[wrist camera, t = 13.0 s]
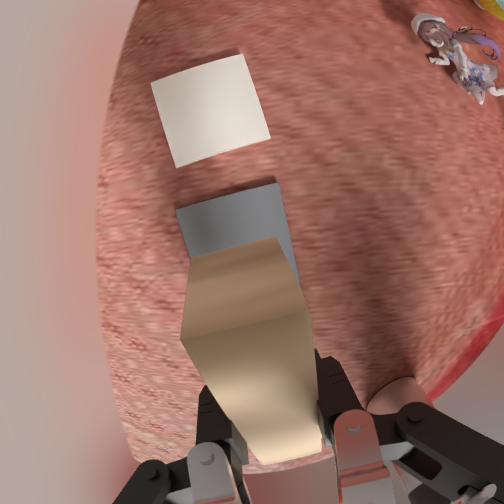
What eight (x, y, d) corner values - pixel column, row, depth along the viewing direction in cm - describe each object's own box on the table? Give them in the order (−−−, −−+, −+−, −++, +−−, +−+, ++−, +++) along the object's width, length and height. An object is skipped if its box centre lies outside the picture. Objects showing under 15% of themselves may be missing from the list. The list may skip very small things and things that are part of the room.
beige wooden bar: (322, 430, 17) (336, 473, 14) (259, 446, 17) (266, 489, 14) (303, 229, 9) (350, 296, 6) (165, 264, 9) (142, 345, 6)
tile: (270, 138, 21) (242, 53, 18) (176, 168, 21) (150, 83, 18) (268, 139, 22) (241, 59, 20) (179, 167, 23) (155, 87, 20)
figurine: (459, 116, 25) (381, 47, 20) (474, 69, 21) (402, -4, 16) (526, 143, 15) (463, 45, 10) (539, 85, 11) (475, -16, 6)
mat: (305, 317, 28) (306, 320, 27) (221, 338, 28) (221, 342, 27) (277, 182, 23) (278, 182, 23) (176, 209, 23) (174, 210, 23)
